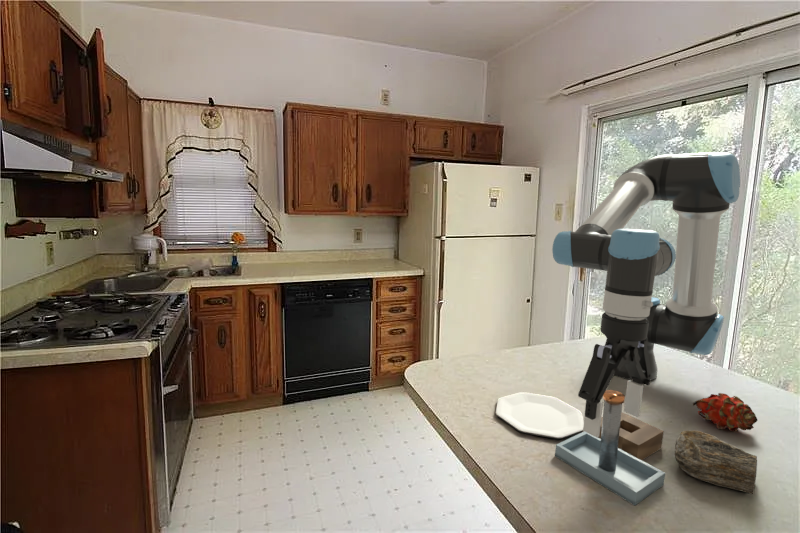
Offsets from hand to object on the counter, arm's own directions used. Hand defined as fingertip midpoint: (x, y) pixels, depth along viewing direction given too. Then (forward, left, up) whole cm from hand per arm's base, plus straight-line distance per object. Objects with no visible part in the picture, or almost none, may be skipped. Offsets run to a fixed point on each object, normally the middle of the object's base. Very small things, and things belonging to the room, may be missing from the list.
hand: (612, 423), depth 79 cm
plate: (-20, +5, -10) cm, 23 cm away
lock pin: (0, 0, -9) cm, 9 cm away
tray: (0, 0, -10) cm, 10 cm away
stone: (+12, +16, -10) cm, 22 cm away
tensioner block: (-3, +12, -10) cm, 16 cm away
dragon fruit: (+5, +39, -10) cm, 41 cm away
